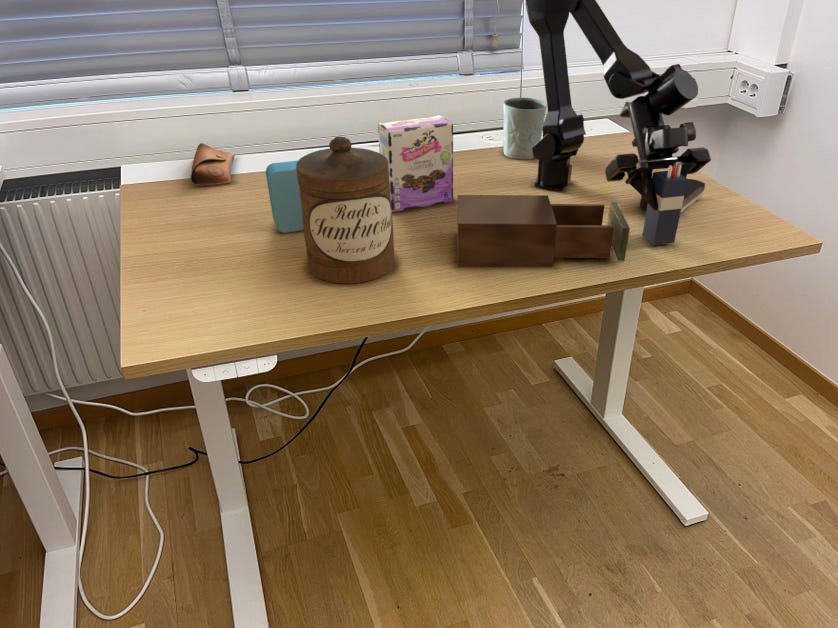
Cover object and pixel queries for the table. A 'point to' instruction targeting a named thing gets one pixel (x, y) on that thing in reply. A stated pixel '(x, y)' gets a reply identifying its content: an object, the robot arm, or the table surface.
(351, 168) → the wooden container
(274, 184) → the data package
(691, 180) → the black sponge
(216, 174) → the sunglasses case
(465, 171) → the table surface
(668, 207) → the straw box
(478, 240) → the cabinet
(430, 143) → the candy box
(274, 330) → the table surface
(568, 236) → the drawer
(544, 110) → the green ceramic pot
